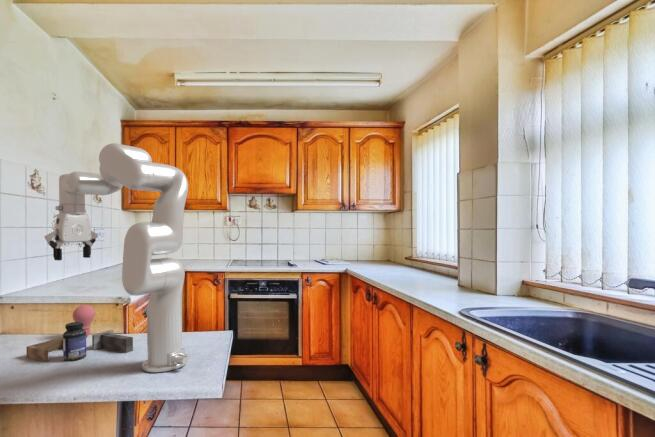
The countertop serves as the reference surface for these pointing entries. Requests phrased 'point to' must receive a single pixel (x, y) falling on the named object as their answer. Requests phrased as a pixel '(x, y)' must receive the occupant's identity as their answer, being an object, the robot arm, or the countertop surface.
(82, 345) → the pill bottle
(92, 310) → the light bulb
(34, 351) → the bay
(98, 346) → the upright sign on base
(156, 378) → the countertop surface
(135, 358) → the countertop surface
